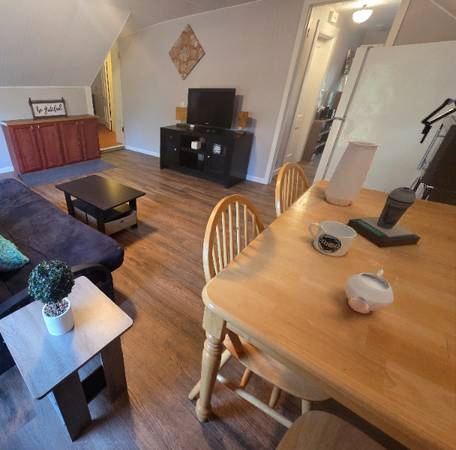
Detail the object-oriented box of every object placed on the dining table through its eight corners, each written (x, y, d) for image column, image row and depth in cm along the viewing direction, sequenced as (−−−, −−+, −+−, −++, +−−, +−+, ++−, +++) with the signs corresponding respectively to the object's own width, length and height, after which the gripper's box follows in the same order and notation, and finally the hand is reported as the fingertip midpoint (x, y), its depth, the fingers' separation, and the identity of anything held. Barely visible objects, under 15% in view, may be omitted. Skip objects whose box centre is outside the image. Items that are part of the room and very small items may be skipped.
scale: (416, 244, 89) (422, 235, 87) (380, 247, 87) (385, 239, 85) (378, 222, 101) (383, 215, 99) (346, 225, 99) (350, 217, 97)
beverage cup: (375, 219, 96) (402, 170, 86) (398, 226, 92) (431, 176, 81) (369, 225, 92) (398, 175, 82) (394, 233, 88) (427, 181, 77)
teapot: (390, 298, 67) (409, 273, 62) (367, 340, 57) (387, 314, 52) (351, 279, 74) (365, 255, 69) (323, 313, 63) (337, 288, 58)
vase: (349, 210, 110) (380, 147, 96) (318, 200, 118) (342, 141, 103) (356, 201, 118) (386, 142, 103) (326, 193, 126) (350, 137, 111)
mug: (346, 245, 88) (356, 226, 83) (346, 261, 80) (357, 241, 76) (305, 233, 94) (312, 215, 90) (301, 247, 87) (308, 228, 82)
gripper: (433, 82, 90) (402, 141, 101) (545, 85, 75) (494, 154, 86) (433, 82, 94) (403, 139, 106) (539, 84, 80) (491, 150, 91)
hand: (444, 145), depth 96 cm, fingers open, 13 cm apart
